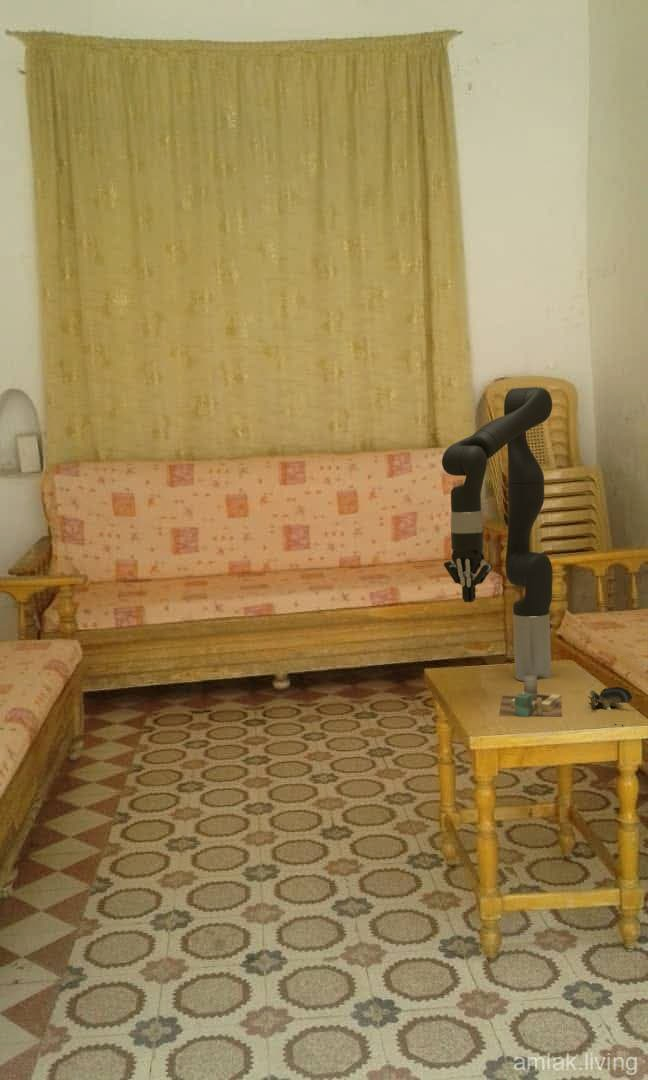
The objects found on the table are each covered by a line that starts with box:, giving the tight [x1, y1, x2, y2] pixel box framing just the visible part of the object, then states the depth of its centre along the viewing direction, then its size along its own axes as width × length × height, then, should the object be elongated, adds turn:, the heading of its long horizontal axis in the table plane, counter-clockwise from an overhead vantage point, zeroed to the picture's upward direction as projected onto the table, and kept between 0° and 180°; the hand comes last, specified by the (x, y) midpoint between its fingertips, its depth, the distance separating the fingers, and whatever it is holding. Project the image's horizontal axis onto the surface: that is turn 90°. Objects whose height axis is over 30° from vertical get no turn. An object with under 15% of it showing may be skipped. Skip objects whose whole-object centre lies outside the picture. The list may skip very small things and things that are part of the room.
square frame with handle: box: [511, 691, 562, 718], centre depth 244 cm, size 14×9×4 cm, turn 148°
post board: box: [498, 675, 563, 718], centre depth 246 cm, size 17×14×8 cm
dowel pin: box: [537, 698, 542, 716], centre depth 238 cm, size 1×1×4 cm
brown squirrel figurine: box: [587, 686, 634, 711], centre depth 241 cm, size 8×7×9 cm
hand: (469, 601), depth 252 cm, fingers closed
